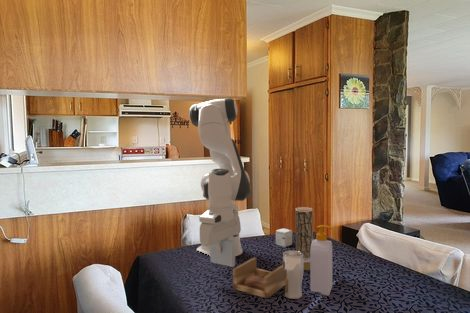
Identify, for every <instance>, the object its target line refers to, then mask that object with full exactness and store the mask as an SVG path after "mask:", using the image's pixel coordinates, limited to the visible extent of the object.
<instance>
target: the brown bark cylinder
mask: <svg viewBox="0 0 470 313" xmlns="http://www.w3.org/2000/svg"><path fill="white" fill-rule="evenodd" d="M313 214H314V210H313V208H312V207H310V206H309V207H307V206H299V207H296V208H295V251H299V252H301V253H303V262H304V271H310V249H311V243H312V240H314V220H313V218H314V215H313Z"/></svg>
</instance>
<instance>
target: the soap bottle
mask: <svg viewBox="0 0 470 313" xmlns="http://www.w3.org/2000/svg"><path fill="white" fill-rule="evenodd" d="M324 228H326V229H330V230H333V227H331V225H327V224H326V225H324V224H320V225H317V226H316V229H319V232H317V233H316V234H315V235H316V236H315V237H316V239H314V238H313V240H312V243H311V249H310V270H309V272H310V274H309V275H310V280H309V281H310V283H309V284H310V292H315V293H319V295H322V296H330V294H331V290H332V288H333V243H332V241H331V240H328V238H327V233H326V232H324Z"/></svg>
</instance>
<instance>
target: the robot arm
mask: <svg viewBox="0 0 470 313" xmlns="http://www.w3.org/2000/svg"><path fill="white" fill-rule="evenodd" d="M238 110H239V109H238V105H237V103H236V101H235V100H234V99H233V98H231V97H225V98H219V99H218V98H217V99H212V100H207V101H204V102H200V103H195V104H192V105H191V106H190V108H189V113H188V117H189V120H190V122H191V124H192V125H193V126H194V127H198V136H199V141H200V144H201V145H203V147H205V148H206V149H208V150H209V156H210V159H211V161H212V162H214V163H215V164H216V165H218V166H219V168H213V169H211V170H210V171H209V172H207V173H205V174H204V175H203V176H202V177H201V180H200V188H201V190H202V197H203V198H204V199H206V200H207V201H209V202H208V209H207V210H206V211H204V213H202V214H201V215H200V216H199V222H200V225H199V242H200V245H199V246H198V247H197V248H196V252H197V251H199V252H198V253H200V252H202V253H204V254H203V255H205V254H207V255H206V256H208V255H209V256H208V257H210V245H212V244H214V245H215V247H216V252H217V253H221V252H222V251H223V250H222V247H221V246H220V244H221V241H222V240H224V239H228V240H233V241H235V257H238V256H240V255H242V254H243V252H244V251H243V248H242V245H241V240H240V234H241V230H242V228H241V226H242V225H241V220H240V216H239V206H238V205H237V204H236V203H235V202H234V201H237V202H239V201H240V202H243V201H244V200H246V199H247V198H248V197H249V196H250V194H251V185H250V184H251V180H250V178H251V177H250V176H249V173H248V172H247V171H246V170H245V168H244V165H243V161H242V158H241V156H240V153H239V152H240V151H239V149H238V146H237V143H236V141H235V140H234V139H233V138H232V135H231V134H232V133H231V131H230V130H231V129H230V127H229V125H232V123H233V122H234V121H235V120H236V118H237V117H238V116H237V115H238ZM228 123H229V124H228ZM202 253H201V254H202Z"/></svg>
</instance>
